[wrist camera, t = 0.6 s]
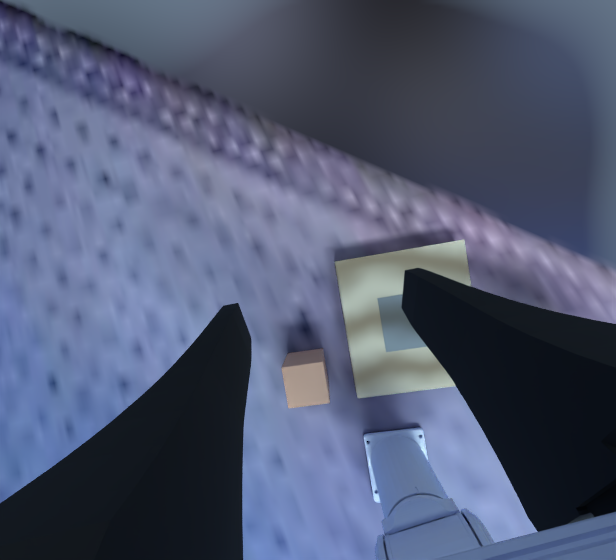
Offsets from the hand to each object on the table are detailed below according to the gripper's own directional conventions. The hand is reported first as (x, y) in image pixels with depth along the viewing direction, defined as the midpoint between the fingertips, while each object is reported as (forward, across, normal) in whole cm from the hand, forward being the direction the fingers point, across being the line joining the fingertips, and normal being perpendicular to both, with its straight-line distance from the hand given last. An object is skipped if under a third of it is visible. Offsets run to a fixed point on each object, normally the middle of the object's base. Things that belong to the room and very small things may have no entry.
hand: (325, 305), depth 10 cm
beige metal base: (+14, -12, +16) cm, 25 cm away
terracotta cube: (+14, +2, +21) cm, 25 cm away
